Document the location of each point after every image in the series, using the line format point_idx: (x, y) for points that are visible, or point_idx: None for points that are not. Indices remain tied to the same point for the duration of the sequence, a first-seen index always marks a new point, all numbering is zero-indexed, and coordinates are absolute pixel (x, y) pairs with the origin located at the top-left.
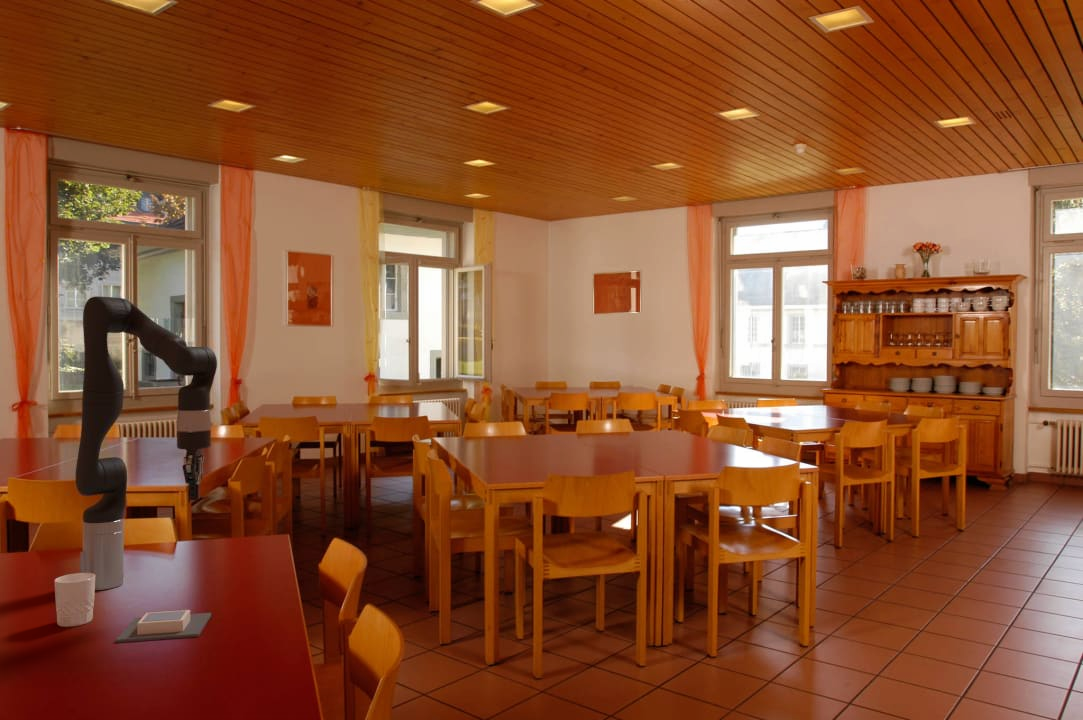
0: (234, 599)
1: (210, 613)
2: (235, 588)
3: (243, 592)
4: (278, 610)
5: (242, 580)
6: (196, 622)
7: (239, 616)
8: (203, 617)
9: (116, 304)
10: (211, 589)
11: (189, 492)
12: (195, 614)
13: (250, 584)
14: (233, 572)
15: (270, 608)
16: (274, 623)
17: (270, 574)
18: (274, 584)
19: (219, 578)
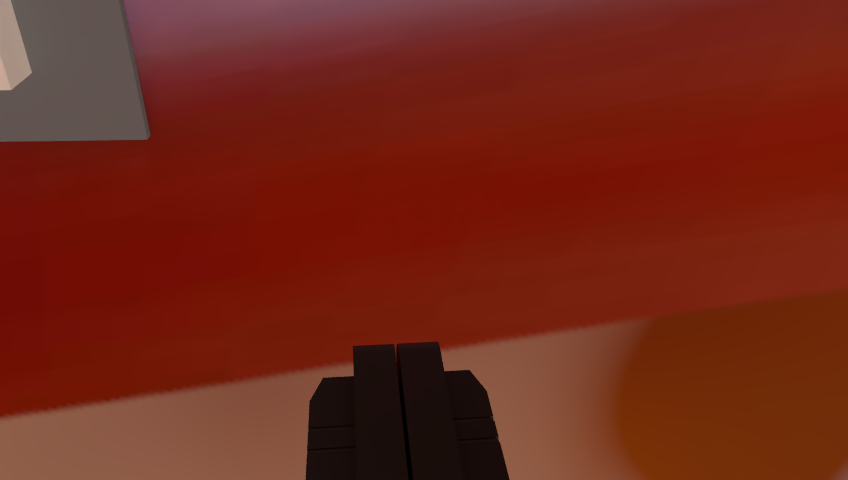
0: (369, 184)
1: (135, 138)
2: (536, 161)
3: (463, 202)
4: (199, 346)
5: (653, 169)
6: (6, 105)
7: (133, 239)
8: (79, 120)
9: None
10: (558, 61)
11: (355, 433)
12: (122, 78)
13: (576, 209)
14: (812, 109)
15: (226, 320)
16: (49, 354)
17: (696, 259)
18: (541, 291)
19: (737, 63)
